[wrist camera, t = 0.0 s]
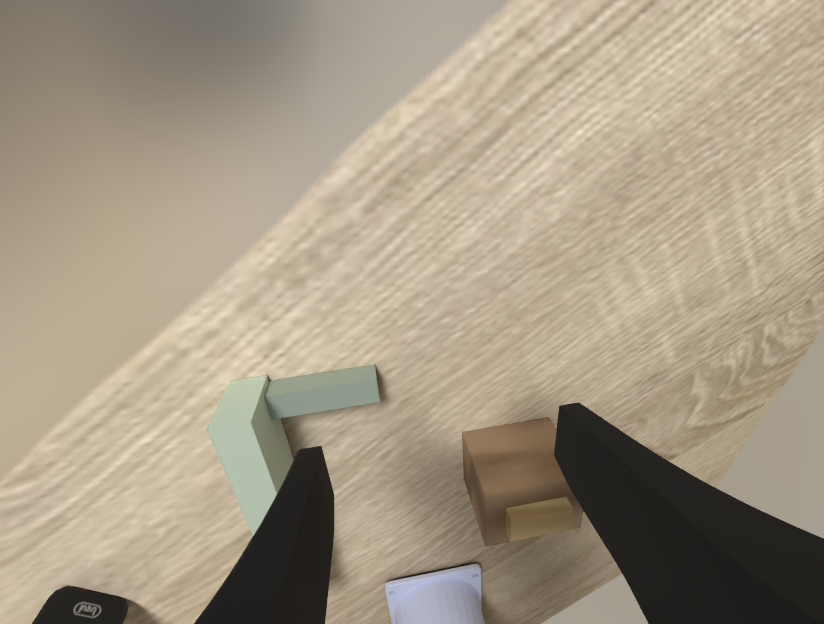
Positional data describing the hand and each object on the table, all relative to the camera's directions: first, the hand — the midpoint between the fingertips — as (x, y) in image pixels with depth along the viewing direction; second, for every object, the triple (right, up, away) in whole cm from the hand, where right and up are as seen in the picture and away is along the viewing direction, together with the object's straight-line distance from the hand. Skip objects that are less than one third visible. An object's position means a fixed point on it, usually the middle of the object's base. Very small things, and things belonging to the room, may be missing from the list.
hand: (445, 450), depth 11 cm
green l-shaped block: (-6, -7, +14) cm, 16 cm away
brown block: (+6, -5, +15) cm, 17 cm away
